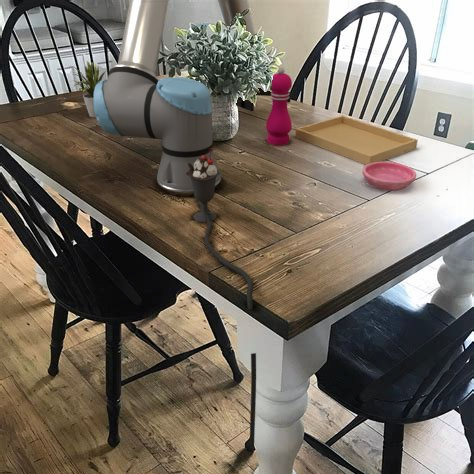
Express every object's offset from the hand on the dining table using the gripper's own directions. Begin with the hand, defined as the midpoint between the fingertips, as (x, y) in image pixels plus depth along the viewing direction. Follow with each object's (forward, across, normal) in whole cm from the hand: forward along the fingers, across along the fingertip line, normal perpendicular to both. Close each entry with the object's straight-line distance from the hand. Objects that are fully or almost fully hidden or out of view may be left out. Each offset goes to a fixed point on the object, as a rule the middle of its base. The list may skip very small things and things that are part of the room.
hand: (271, 101), depth 151 cm
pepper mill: (+3, 0, -11) cm, 11 cm away
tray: (+17, -16, -10) cm, 26 cm away
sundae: (+28, +43, -11) cm, 53 cm away
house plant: (-53, +29, -11) cm, 61 cm away
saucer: (+41, -1, -11) cm, 42 cm away
